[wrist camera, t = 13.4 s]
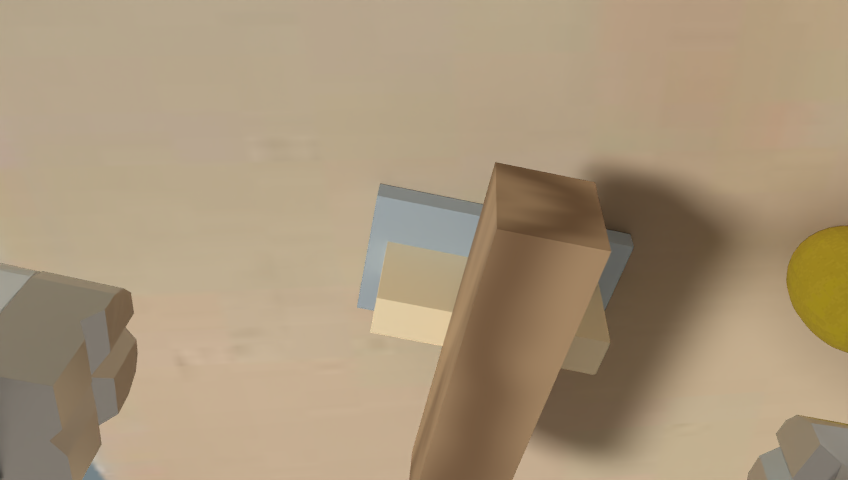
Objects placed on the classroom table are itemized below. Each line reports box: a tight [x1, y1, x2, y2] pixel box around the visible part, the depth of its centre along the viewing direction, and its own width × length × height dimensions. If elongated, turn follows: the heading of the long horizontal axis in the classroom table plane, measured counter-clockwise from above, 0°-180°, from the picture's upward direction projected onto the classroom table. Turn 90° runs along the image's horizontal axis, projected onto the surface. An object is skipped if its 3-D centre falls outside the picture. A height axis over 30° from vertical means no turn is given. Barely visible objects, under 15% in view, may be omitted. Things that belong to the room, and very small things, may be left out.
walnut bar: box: [409, 162, 611, 480], centre depth 35 cm, size 4×20×5 cm, turn 169°
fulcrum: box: [357, 184, 634, 375], centre depth 39 cm, size 14×8×6 cm, turn 79°
